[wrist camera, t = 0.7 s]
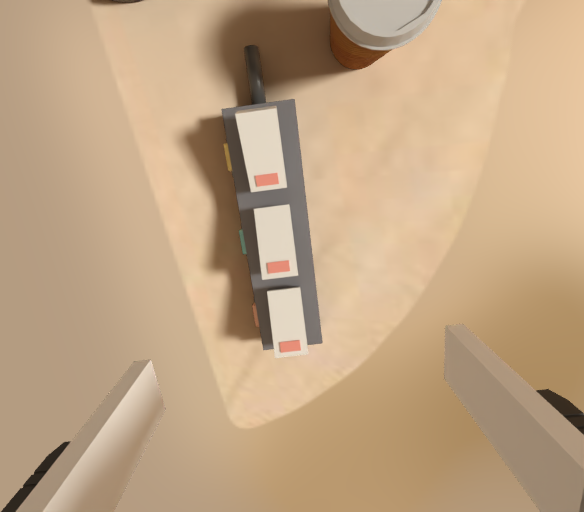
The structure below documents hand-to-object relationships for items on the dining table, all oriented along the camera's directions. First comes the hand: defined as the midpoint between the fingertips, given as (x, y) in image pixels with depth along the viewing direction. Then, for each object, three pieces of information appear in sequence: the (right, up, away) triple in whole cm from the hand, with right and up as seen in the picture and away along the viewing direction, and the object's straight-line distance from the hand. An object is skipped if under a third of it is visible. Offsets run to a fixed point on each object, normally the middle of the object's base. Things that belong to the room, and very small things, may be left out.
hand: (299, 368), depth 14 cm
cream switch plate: (-2, +7, +21) cm, 22 cm away
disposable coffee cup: (+7, +30, +21) cm, 37 cm away
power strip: (-3, +11, +26) cm, 28 cm away
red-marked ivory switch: (-3, +16, +19) cm, 25 cm away
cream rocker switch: (-1, -3, +24) cm, 24 cm away
